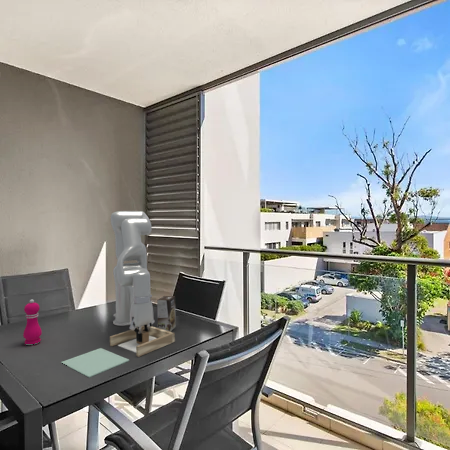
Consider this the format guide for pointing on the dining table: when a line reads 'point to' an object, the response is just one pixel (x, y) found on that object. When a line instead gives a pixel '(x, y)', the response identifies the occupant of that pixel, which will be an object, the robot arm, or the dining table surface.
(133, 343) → the cover plate
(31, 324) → the pepper mill
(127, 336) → the open-sided wooden frame
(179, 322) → the dining table surface
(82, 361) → the sage mat
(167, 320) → the coffee box
